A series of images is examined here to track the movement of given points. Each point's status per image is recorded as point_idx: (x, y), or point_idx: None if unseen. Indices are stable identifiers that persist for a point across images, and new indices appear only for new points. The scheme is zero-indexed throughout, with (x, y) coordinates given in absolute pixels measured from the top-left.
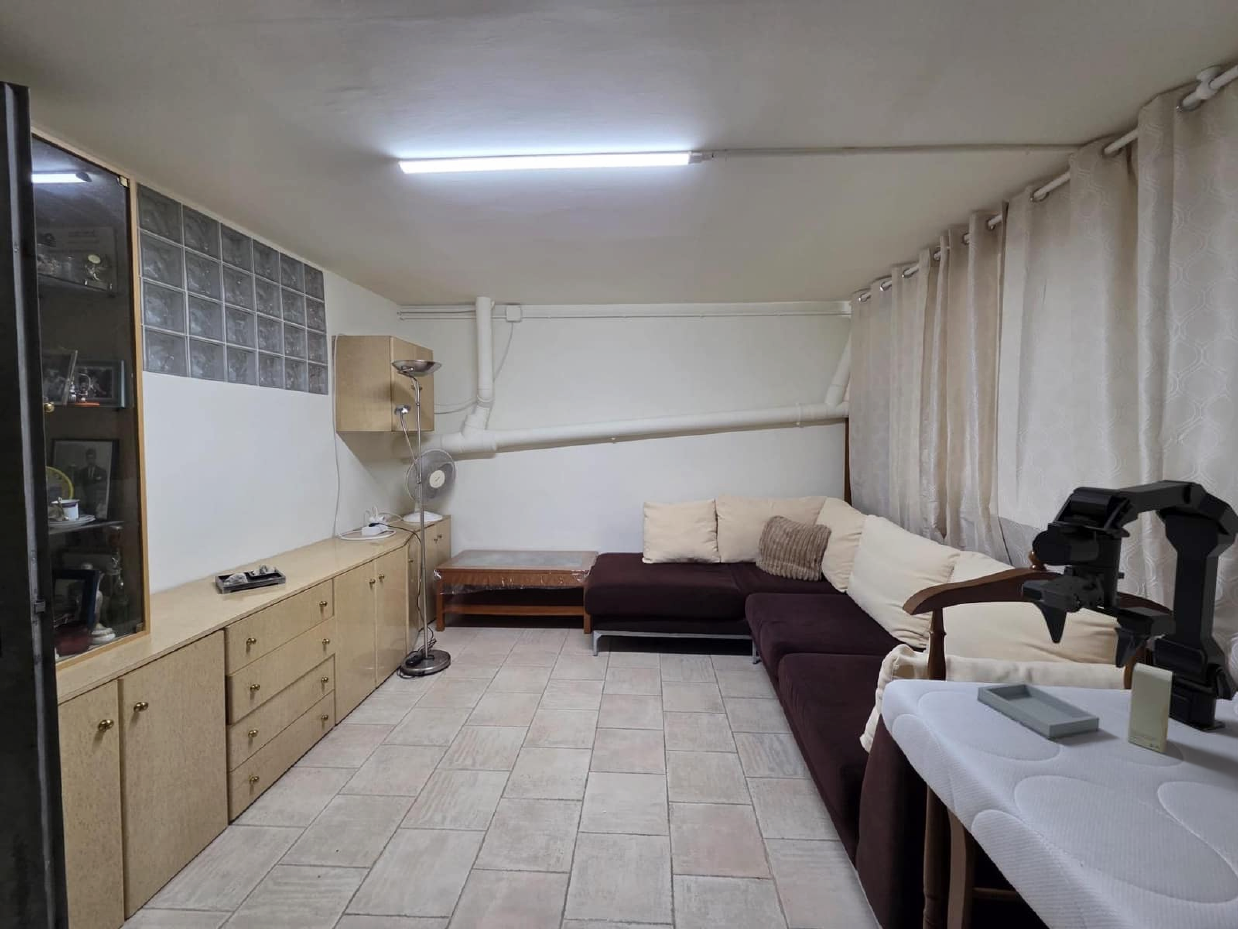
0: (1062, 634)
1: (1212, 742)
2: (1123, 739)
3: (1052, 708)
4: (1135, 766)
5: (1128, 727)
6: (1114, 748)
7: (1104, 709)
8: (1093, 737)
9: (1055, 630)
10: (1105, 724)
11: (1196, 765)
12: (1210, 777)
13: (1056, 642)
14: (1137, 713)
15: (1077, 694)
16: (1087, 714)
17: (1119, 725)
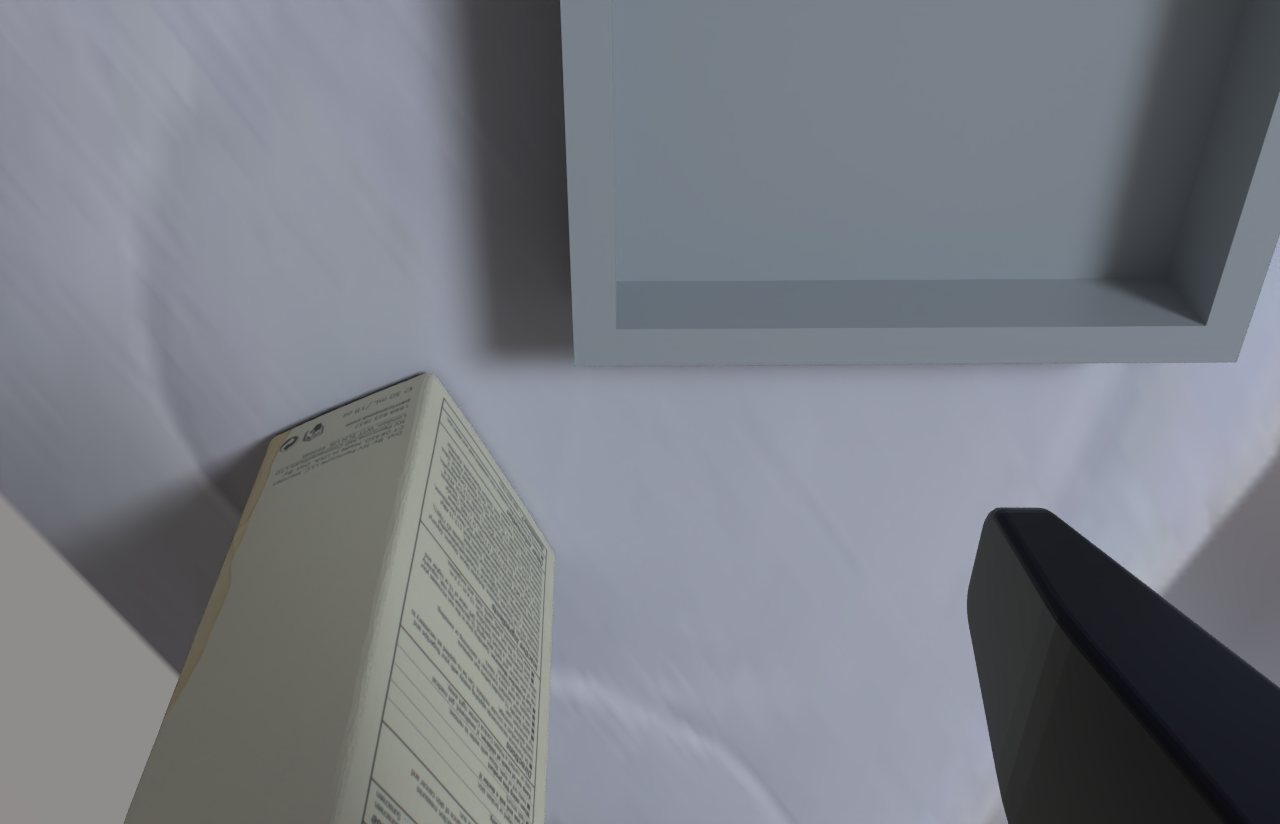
0: (1006, 816)
1: None
2: (463, 375)
3: (904, 261)
4: (128, 55)
5: (417, 435)
6: (365, 171)
7: (789, 644)
8: (520, 174)
9: (1119, 759)
10: (645, 460)
11: (156, 497)
12: (29, 436)
13: (988, 548)
14: (349, 542)
15: None
16: (643, 328)
17: (613, 535)
